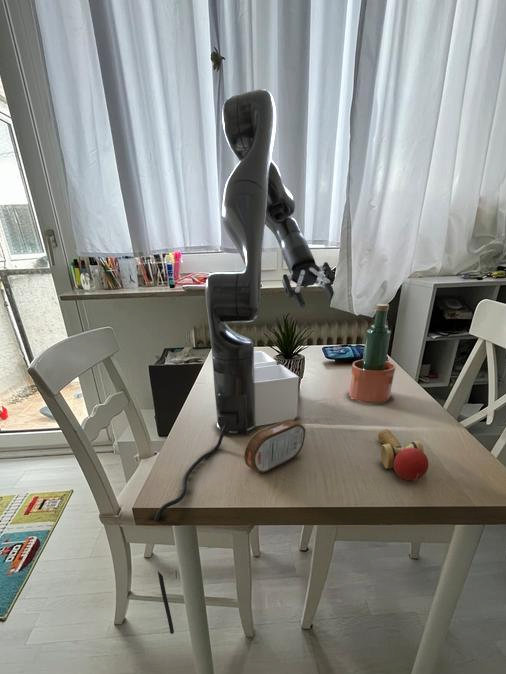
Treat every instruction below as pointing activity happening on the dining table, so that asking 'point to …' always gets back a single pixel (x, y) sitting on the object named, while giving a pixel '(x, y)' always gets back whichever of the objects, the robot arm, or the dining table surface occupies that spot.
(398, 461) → the kendama
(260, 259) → the robot arm
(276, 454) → the tin
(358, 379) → the plant pot
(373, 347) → the bottle
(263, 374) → the storage container
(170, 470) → the dining table surface
